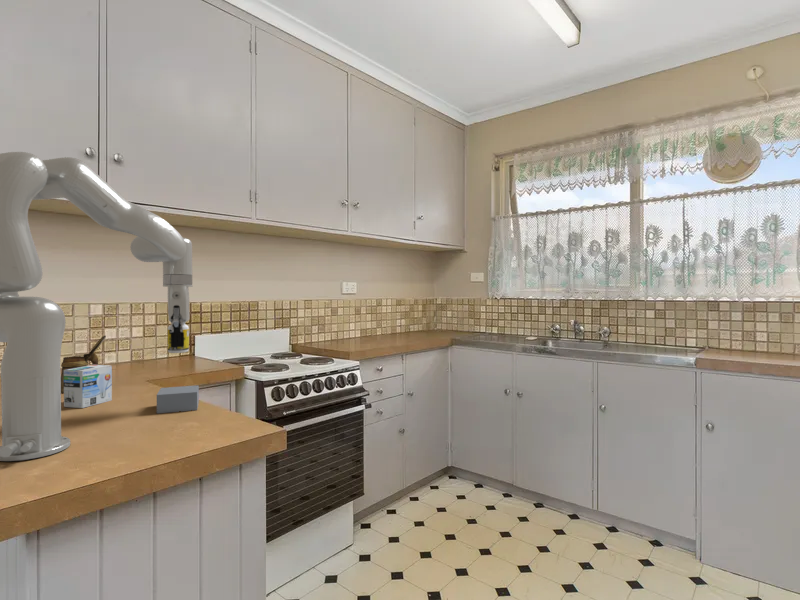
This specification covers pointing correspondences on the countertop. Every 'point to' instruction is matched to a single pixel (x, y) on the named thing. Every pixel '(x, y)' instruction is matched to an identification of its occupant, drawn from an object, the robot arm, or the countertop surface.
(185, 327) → the supplement bottle
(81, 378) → the light bulb box
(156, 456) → the countertop surface
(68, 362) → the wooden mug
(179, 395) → the riser base
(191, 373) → the countertop surface
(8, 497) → the countertop surface
